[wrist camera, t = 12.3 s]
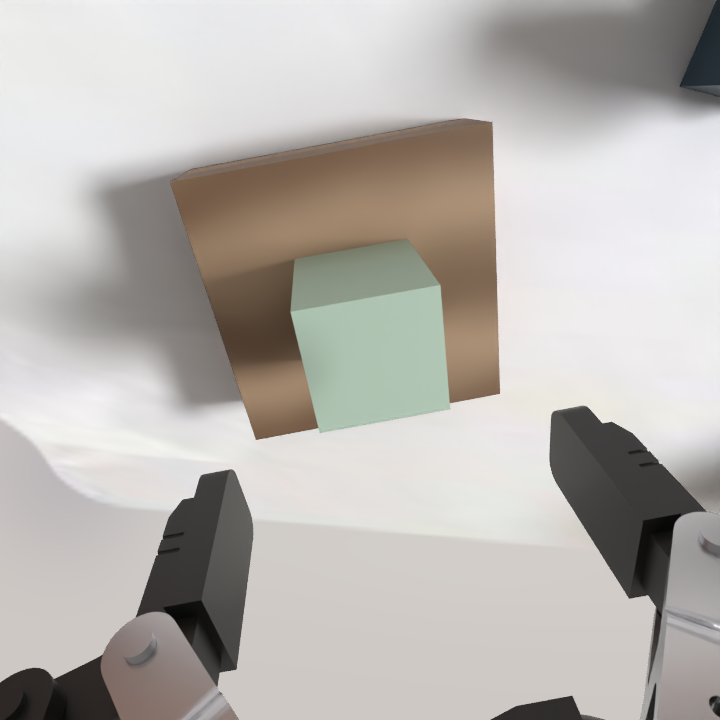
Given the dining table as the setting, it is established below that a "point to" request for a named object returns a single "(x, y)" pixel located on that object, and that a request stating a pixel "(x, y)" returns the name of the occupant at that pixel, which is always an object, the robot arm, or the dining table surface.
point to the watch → (706, 58)
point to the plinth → (342, 232)
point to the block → (370, 335)
